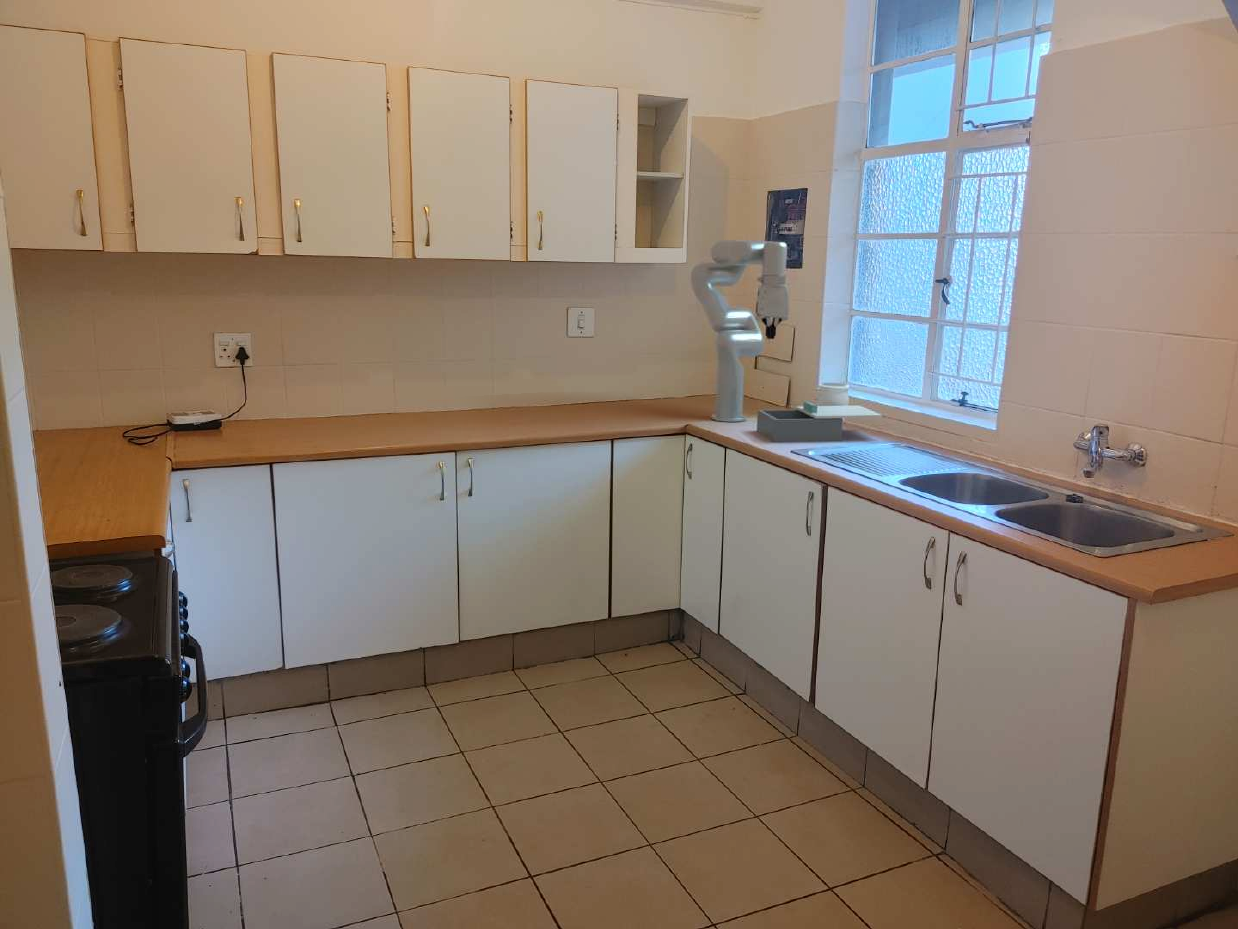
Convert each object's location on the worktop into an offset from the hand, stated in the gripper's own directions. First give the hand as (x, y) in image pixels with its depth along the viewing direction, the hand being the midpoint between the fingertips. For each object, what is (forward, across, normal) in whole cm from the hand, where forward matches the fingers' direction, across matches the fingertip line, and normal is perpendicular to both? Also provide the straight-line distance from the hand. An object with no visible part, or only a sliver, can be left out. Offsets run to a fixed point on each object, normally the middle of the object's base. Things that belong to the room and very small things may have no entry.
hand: (770, 338), depth 299 cm
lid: (+23, +20, -12) cm, 33 cm away
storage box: (+31, +7, -12) cm, 34 cm away
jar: (+31, +25, +5) cm, 40 cm away
